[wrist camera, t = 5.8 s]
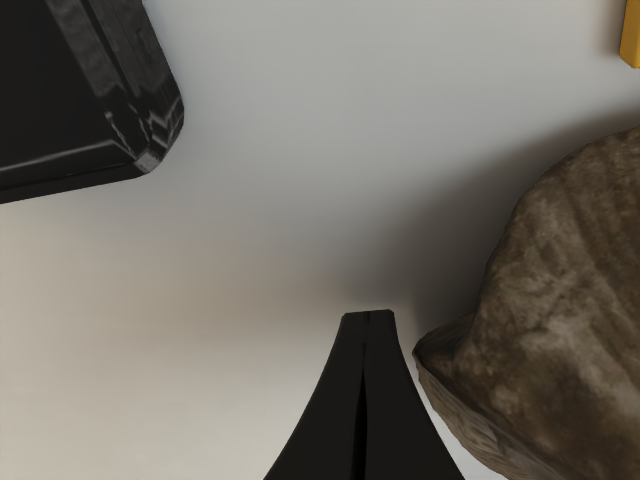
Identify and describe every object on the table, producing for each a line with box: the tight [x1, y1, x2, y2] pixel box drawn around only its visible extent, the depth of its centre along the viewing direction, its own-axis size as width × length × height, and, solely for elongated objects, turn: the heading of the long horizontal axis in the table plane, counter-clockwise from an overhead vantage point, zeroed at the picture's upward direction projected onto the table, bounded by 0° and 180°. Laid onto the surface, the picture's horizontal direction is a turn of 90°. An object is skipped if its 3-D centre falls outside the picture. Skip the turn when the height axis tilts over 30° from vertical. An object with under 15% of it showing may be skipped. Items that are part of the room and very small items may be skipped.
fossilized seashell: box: [412, 126, 640, 480], centre depth 11 cm, size 8×7×10 cm
